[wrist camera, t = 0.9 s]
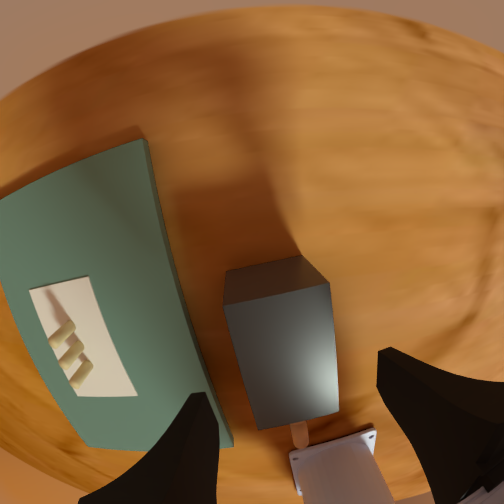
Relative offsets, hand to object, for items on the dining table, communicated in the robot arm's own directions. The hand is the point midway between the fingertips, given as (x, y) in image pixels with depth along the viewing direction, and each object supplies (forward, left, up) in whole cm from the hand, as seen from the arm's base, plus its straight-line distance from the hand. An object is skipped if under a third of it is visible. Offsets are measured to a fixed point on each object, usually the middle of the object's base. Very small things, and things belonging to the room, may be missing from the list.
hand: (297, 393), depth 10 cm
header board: (+1, +12, -7) cm, 14 cm away
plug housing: (-2, 0, -7) cm, 7 cm away
